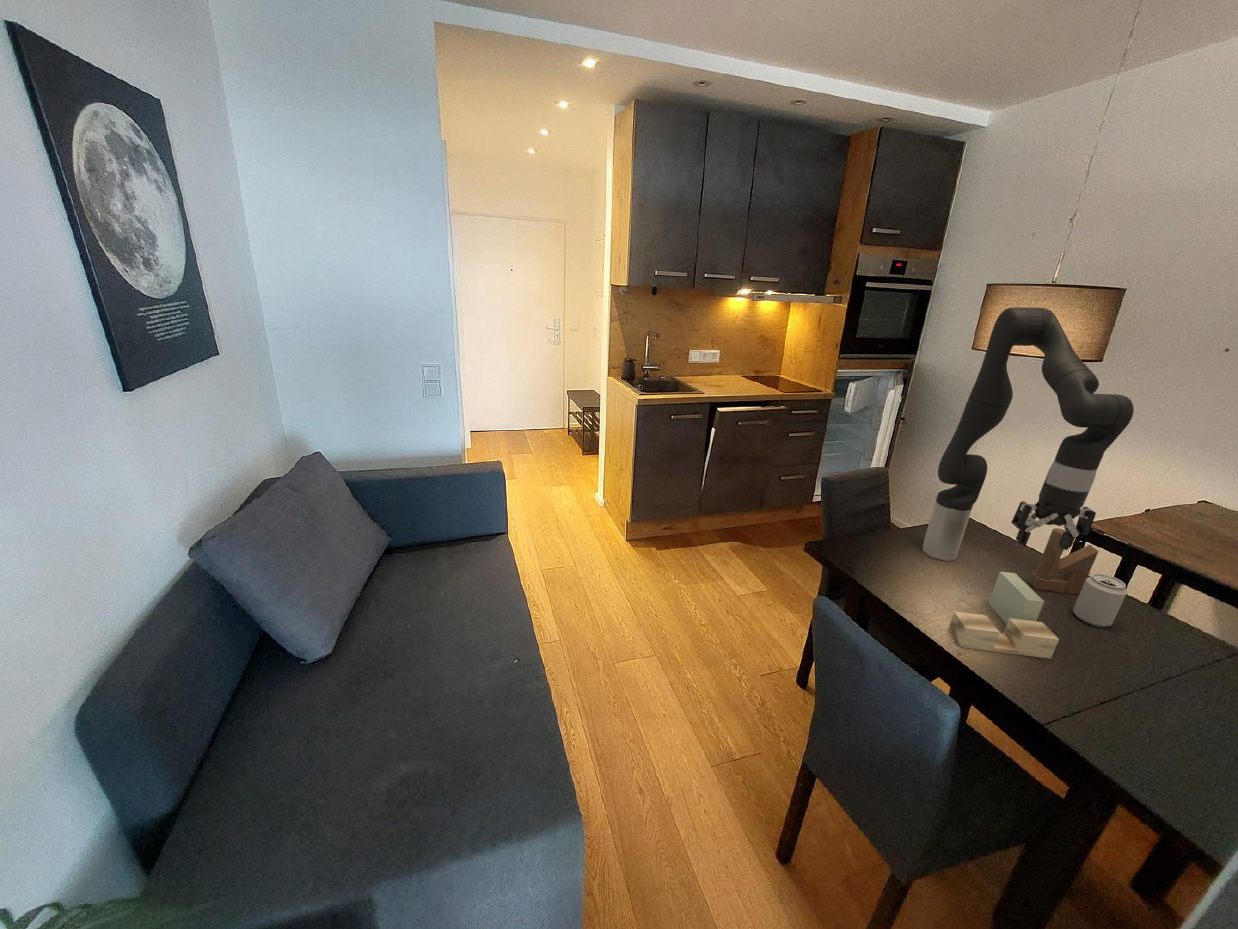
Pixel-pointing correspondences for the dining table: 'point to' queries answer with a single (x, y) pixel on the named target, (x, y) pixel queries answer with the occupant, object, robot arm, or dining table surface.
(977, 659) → the dining table surface
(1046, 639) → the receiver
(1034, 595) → the sage green tall block
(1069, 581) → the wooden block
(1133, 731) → the dining table surface
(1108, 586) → the can
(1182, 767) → the dining table surface
